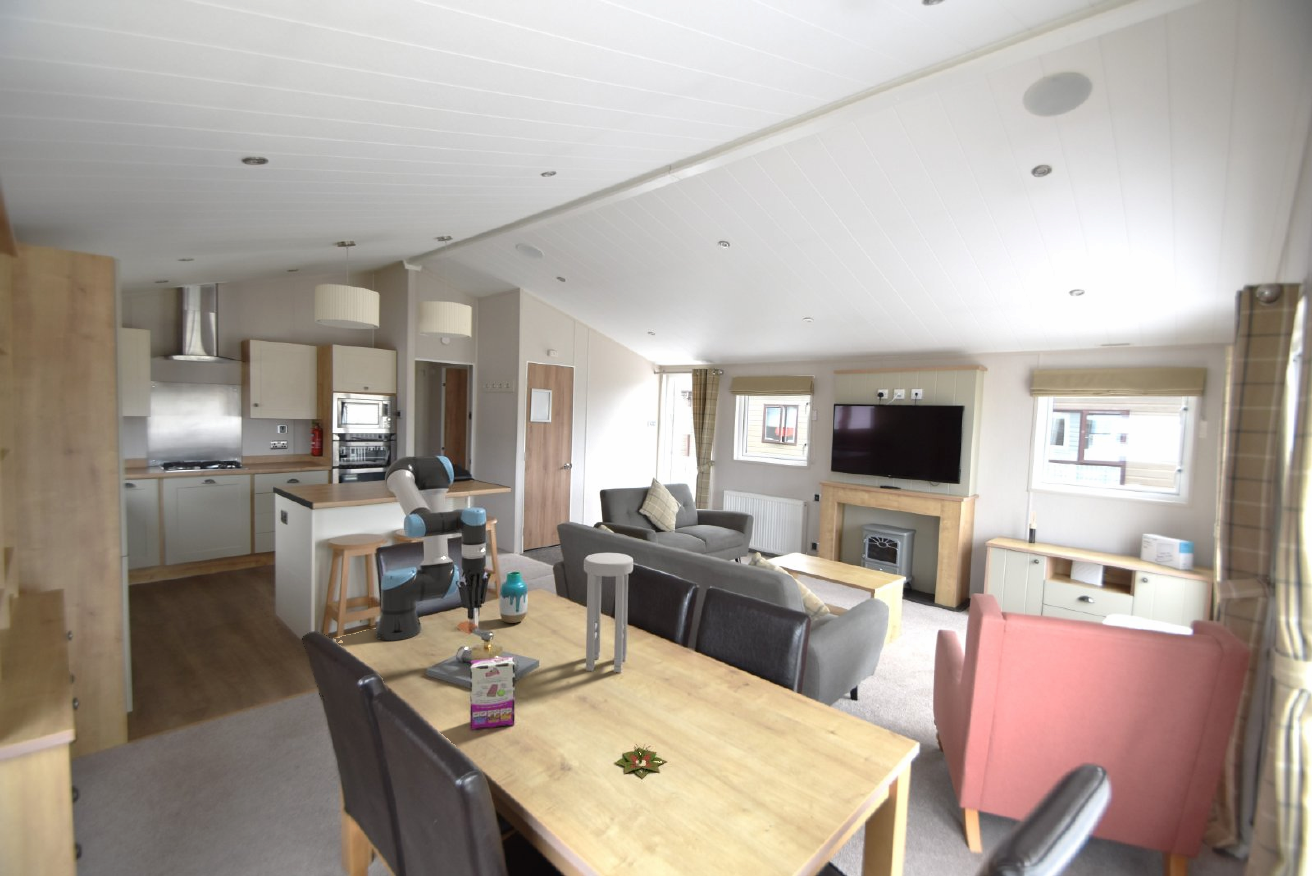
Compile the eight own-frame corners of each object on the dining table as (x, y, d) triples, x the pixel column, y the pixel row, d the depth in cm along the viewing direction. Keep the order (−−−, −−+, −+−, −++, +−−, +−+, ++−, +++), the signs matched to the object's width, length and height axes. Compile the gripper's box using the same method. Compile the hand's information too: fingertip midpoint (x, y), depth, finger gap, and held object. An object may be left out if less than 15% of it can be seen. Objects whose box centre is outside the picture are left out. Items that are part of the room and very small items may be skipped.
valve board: (426, 675, 180) (426, 668, 180) (477, 650, 200) (477, 644, 200) (491, 694, 169) (491, 687, 169) (539, 666, 189) (539, 660, 189)
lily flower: (638, 744, 146) (638, 726, 146) (676, 763, 138) (677, 744, 138) (604, 766, 137) (604, 746, 136) (642, 787, 129) (643, 767, 129)
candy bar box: (514, 716, 157) (514, 655, 157) (514, 725, 152) (515, 663, 152) (470, 721, 154) (471, 659, 154) (469, 731, 149) (470, 667, 149)
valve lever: (485, 641, 180) (485, 636, 180) (457, 629, 190) (457, 623, 190) (495, 638, 183) (495, 632, 182) (467, 626, 193) (467, 620, 193)
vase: (523, 627, 223) (524, 577, 223) (495, 626, 224) (496, 576, 223) (530, 617, 234) (530, 569, 233) (503, 616, 234) (504, 569, 233)
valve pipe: (454, 664, 185) (454, 636, 184) (468, 658, 190) (468, 630, 190) (506, 679, 175) (507, 649, 175) (519, 671, 181) (520, 642, 180)
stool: (633, 656, 198) (635, 553, 197) (626, 676, 183) (628, 564, 182) (588, 653, 200) (590, 551, 199) (577, 672, 184) (579, 562, 183)
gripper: (466, 561, 183) (466, 636, 184) (496, 553, 194) (496, 623, 195) (449, 558, 187) (449, 631, 188) (480, 550, 198) (480, 619, 199)
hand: (473, 627), depth 192 cm, fingers closed
